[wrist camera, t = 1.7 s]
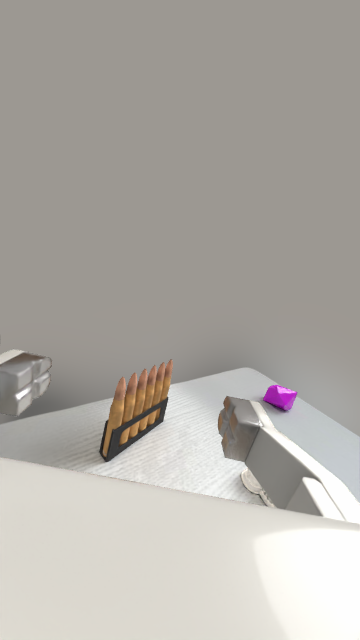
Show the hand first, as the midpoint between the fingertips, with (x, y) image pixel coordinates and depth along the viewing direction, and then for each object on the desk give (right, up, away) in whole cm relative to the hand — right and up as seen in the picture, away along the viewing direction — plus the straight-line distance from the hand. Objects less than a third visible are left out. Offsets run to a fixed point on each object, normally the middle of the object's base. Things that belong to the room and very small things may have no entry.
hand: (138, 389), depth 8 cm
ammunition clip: (-5, -15, +20) cm, 25 cm away
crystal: (+26, -18, +37) cm, 48 cm away
